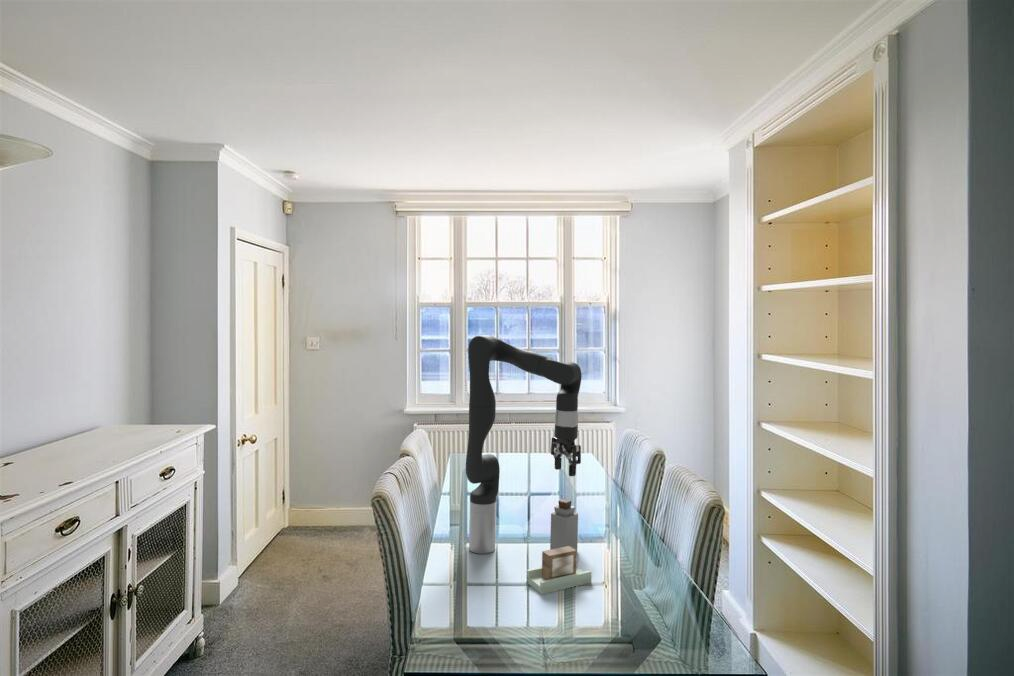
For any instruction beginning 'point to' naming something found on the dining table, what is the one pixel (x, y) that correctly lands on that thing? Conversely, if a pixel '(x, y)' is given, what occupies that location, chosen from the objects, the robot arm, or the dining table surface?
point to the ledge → (556, 580)
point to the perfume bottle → (564, 526)
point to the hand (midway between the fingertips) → (564, 472)
